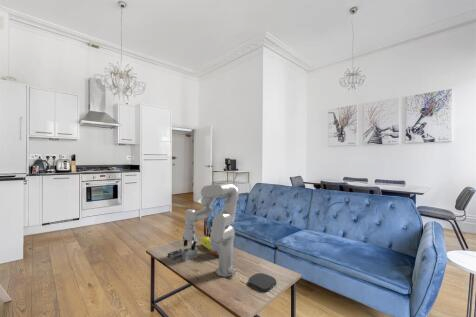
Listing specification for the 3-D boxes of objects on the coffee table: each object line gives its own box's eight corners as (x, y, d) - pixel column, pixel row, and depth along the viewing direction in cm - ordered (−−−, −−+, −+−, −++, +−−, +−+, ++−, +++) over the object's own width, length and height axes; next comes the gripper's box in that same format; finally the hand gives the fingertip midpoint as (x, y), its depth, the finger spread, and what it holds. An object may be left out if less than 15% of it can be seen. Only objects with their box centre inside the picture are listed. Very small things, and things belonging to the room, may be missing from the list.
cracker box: (209, 253, 177) (209, 227, 177) (214, 250, 182) (214, 225, 182) (222, 258, 168) (222, 230, 169) (227, 255, 173) (227, 229, 173)
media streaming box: (258, 275, 145) (259, 270, 145) (278, 283, 135) (278, 278, 135) (245, 284, 133) (245, 279, 133) (265, 294, 124) (266, 289, 124)
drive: (197, 256, 170) (197, 247, 170) (185, 261, 162) (185, 252, 162) (193, 255, 173) (193, 246, 173) (181, 259, 165) (181, 250, 165)
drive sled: (187, 255, 172) (187, 252, 172) (174, 260, 163) (174, 256, 164) (181, 251, 178) (181, 248, 178) (167, 256, 169) (167, 253, 169)
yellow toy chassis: (201, 245, 193) (201, 235, 193) (207, 243, 196) (207, 234, 197) (209, 251, 180) (209, 241, 180) (215, 250, 183) (215, 240, 183)
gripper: (201, 227, 165) (200, 249, 165) (187, 222, 176) (186, 243, 176) (192, 229, 159) (192, 252, 159) (179, 224, 170) (178, 245, 171)
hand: (189, 247), depth 168 cm, fingers open, 9 cm apart
